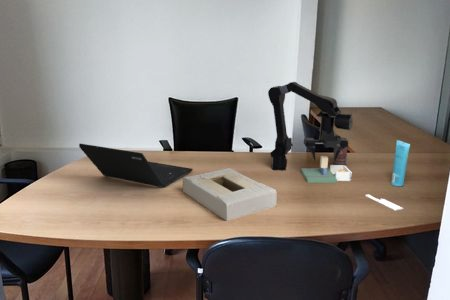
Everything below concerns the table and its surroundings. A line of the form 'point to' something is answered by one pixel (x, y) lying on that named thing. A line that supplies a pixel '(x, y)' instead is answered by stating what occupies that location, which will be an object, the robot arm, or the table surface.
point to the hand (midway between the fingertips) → (324, 160)
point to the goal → (341, 175)
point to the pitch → (318, 176)
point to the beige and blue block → (323, 164)
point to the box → (229, 193)
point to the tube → (400, 163)
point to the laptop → (132, 166)
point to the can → (341, 157)
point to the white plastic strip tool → (386, 203)
